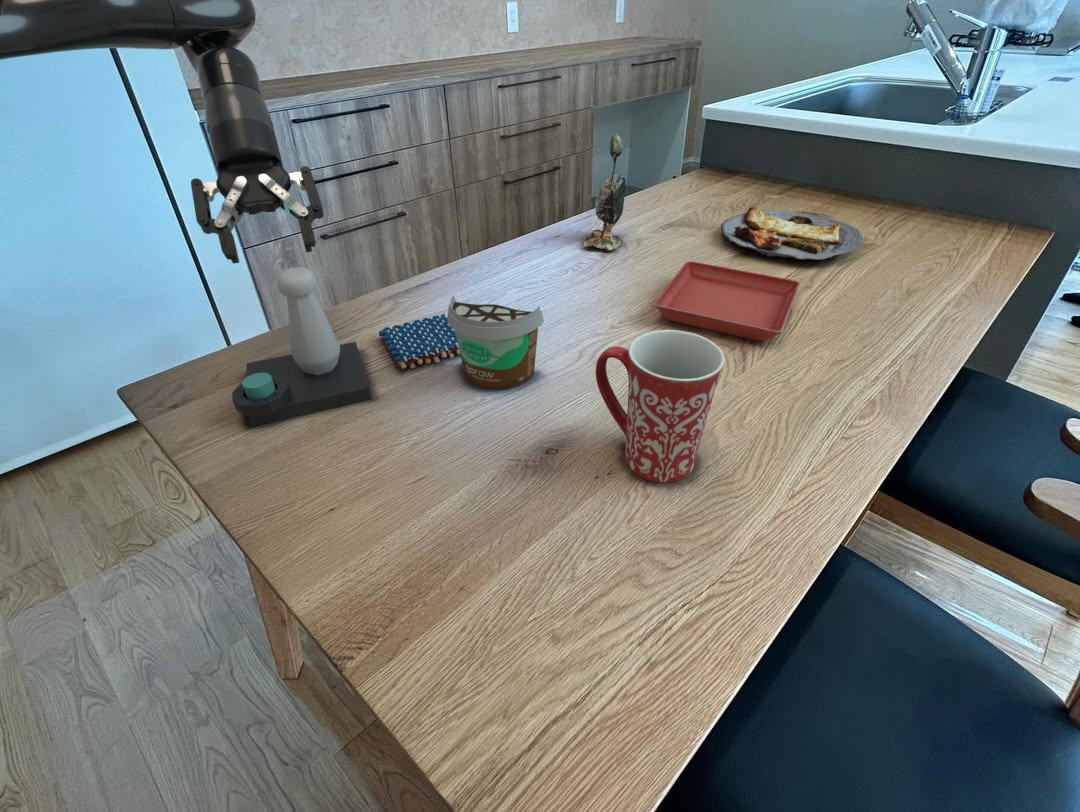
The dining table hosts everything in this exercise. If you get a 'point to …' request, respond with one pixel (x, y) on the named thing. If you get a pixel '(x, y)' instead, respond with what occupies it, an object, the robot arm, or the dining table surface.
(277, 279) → the salt shaker
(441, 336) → the woven mat
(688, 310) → the plant saucer
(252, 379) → the button
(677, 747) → the dining table surface
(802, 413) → the dining table surface
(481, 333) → the food container
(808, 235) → the food plate
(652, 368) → the mug
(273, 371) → the scale
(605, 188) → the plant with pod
